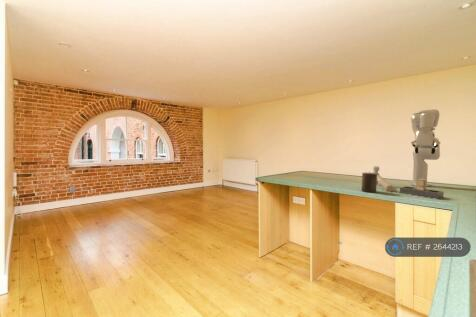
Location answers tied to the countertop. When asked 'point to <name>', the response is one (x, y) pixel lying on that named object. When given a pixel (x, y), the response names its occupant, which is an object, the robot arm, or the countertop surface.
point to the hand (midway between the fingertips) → (424, 153)
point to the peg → (421, 184)
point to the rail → (422, 192)
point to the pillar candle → (369, 182)
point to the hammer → (382, 180)
